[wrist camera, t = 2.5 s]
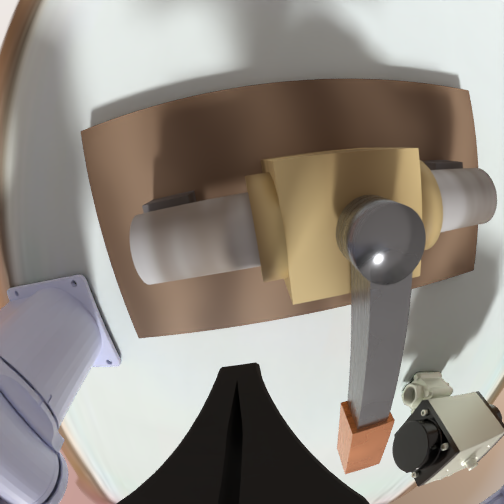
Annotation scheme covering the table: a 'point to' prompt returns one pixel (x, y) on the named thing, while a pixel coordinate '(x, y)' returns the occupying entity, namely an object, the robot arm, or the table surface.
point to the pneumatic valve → (443, 429)
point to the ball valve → (277, 195)
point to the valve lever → (375, 318)
